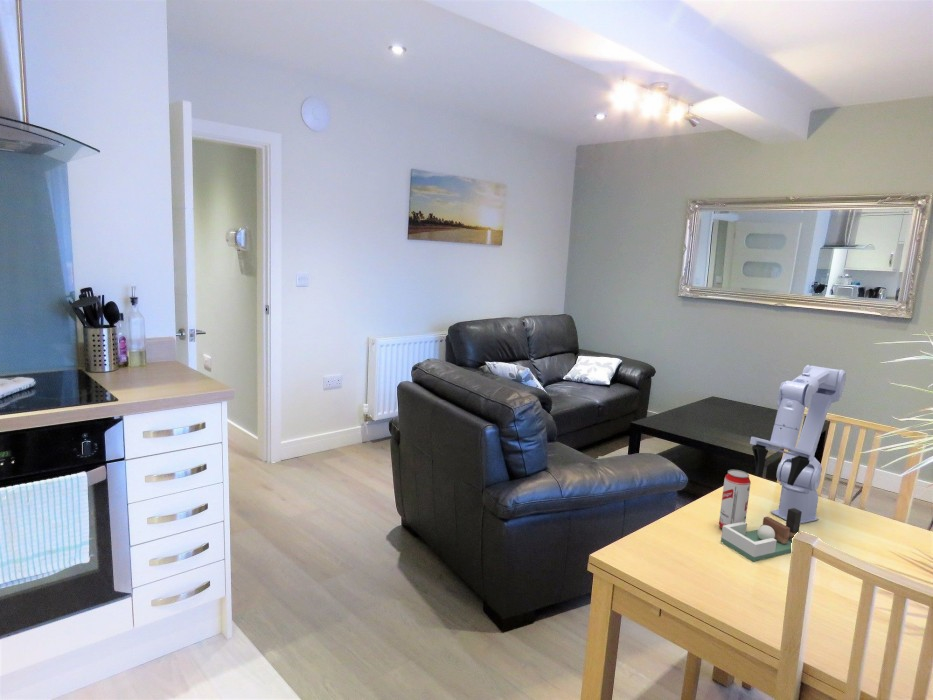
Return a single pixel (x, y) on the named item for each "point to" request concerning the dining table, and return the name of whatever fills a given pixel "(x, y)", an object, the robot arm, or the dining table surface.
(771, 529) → the ball
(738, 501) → the beer can
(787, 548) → the pitch
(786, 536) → the slider
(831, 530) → the dining table surface
